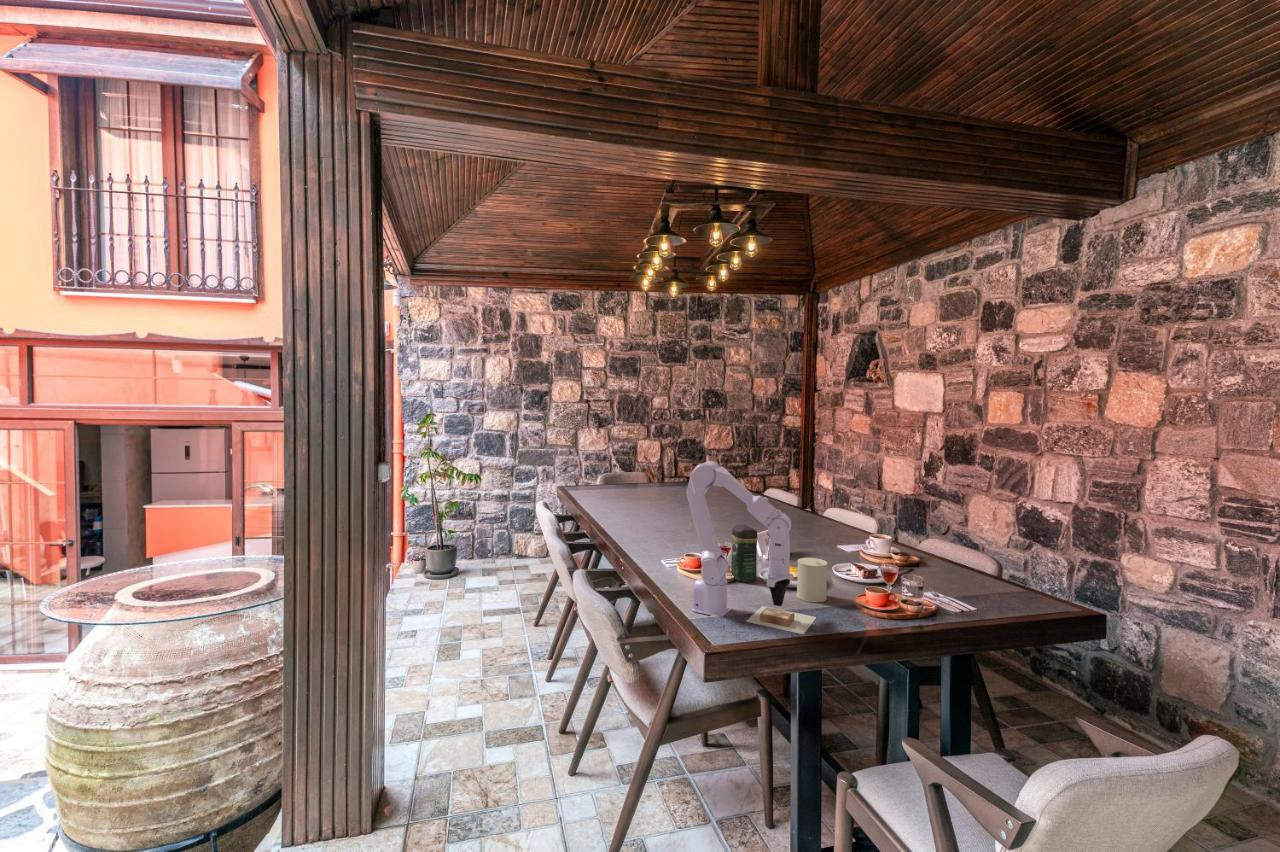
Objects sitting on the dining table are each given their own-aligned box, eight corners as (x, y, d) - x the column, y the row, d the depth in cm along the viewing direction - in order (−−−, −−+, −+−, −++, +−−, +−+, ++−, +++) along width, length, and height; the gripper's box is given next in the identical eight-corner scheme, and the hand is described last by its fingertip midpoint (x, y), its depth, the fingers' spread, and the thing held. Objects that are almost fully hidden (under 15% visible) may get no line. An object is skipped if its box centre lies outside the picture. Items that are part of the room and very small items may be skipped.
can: (812, 604, 175) (813, 565, 174) (790, 595, 183) (791, 558, 182) (833, 599, 179) (834, 561, 179) (810, 590, 187) (811, 554, 187)
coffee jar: (759, 582, 195) (761, 528, 194) (737, 583, 194) (738, 529, 193) (749, 573, 204) (750, 522, 204) (728, 574, 203) (729, 523, 202)
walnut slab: (766, 614, 165) (759, 620, 160) (767, 607, 165) (759, 613, 160) (794, 619, 161) (788, 627, 155) (794, 612, 160) (788, 619, 155)
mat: (745, 623, 159) (745, 621, 159) (762, 607, 171) (762, 605, 171) (803, 636, 151) (803, 634, 151) (816, 619, 163) (816, 617, 163)
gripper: (785, 566, 152) (784, 616, 153) (800, 553, 164) (799, 600, 165) (759, 562, 156) (758, 610, 156) (776, 550, 168) (775, 595, 169)
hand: (777, 605), depth 161 cm, fingers closed
